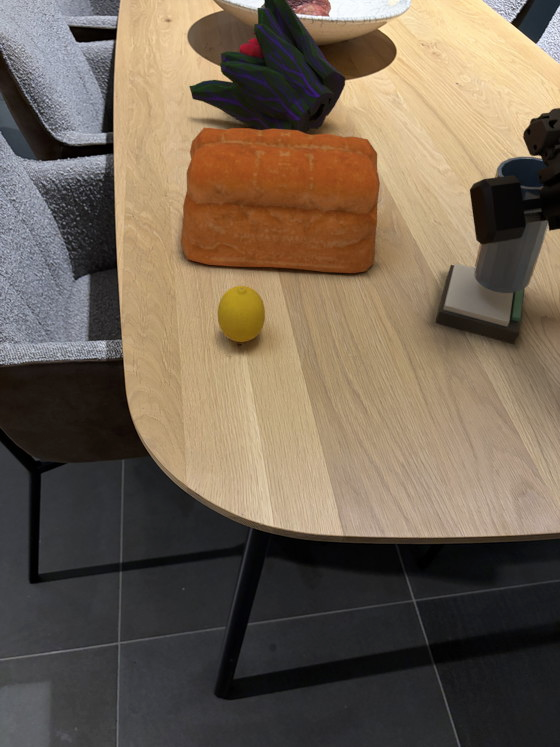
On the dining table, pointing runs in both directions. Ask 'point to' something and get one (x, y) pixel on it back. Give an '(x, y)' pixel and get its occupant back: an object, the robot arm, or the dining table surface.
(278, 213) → the bread
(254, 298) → the lemon
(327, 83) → the decorative plant
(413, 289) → the dining table surface
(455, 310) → the kitchen scale
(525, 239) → the tumbler
